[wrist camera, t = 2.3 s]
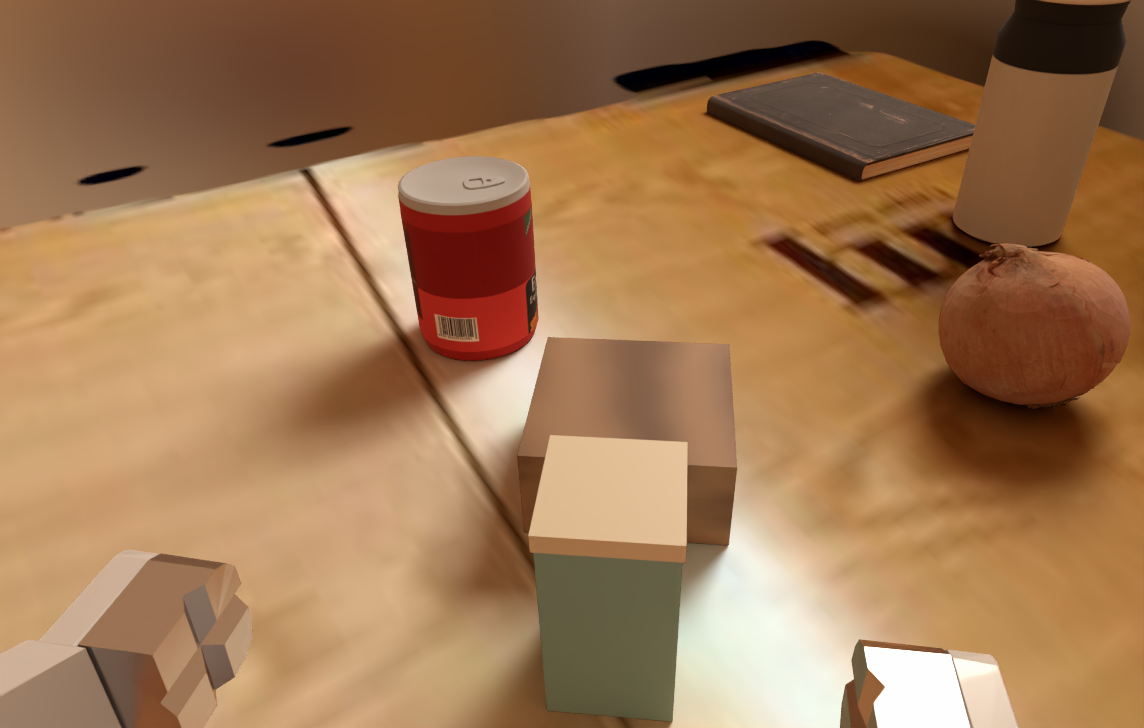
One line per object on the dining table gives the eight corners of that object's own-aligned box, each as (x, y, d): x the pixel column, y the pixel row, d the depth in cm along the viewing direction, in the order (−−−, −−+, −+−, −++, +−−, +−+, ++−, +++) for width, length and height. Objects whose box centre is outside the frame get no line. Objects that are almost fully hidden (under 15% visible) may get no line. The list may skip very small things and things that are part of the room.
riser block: (524, 531, 42) (517, 455, 39) (552, 407, 50) (547, 337, 47) (728, 545, 40) (737, 467, 38) (722, 415, 49) (729, 344, 46)
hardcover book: (816, 91, 98) (819, 71, 97) (980, 151, 82) (986, 128, 80) (705, 117, 92) (707, 96, 91) (858, 187, 76) (862, 163, 74)
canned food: (558, 342, 56) (550, 186, 49) (444, 377, 53) (421, 216, 46) (511, 292, 61) (499, 146, 55) (406, 321, 58) (380, 171, 52)
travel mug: (1000, 258, 63) (1074, 2, 53) (930, 216, 69) (985, -20, 59) (1084, 239, 65) (1172, -11, 55) (1009, 200, 71) (1075, -31, 61)
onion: (931, 412, 53) (887, 267, 50) (1063, 352, 54) (1026, 205, 51) (1034, 463, 44) (987, 289, 41) (1191, 390, 44) (1155, 213, 42)
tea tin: (544, 712, 34) (528, 535, 28) (560, 607, 38) (550, 435, 32) (674, 724, 33) (686, 546, 27) (677, 616, 37) (687, 441, 31)
